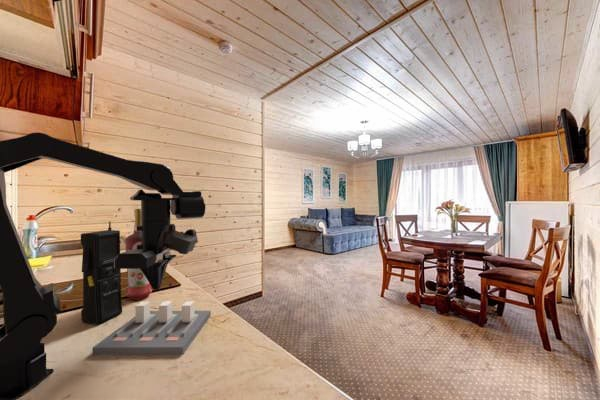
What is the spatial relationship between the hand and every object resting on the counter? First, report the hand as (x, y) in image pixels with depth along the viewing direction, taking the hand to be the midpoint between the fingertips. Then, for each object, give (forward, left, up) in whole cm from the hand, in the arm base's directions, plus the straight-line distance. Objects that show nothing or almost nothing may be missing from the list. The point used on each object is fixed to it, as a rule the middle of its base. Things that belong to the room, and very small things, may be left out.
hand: (156, 289), depth 56 cm
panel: (0, +1, -11) cm, 11 cm away
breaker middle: (0, +4, -9) cm, 10 cm away
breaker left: (-6, +4, -9) cm, 11 cm away
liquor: (-18, +22, -11) cm, 31 cm away
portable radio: (-19, +8, -11) cm, 24 cm away
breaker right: (+5, +4, -9) cm, 11 cm away
